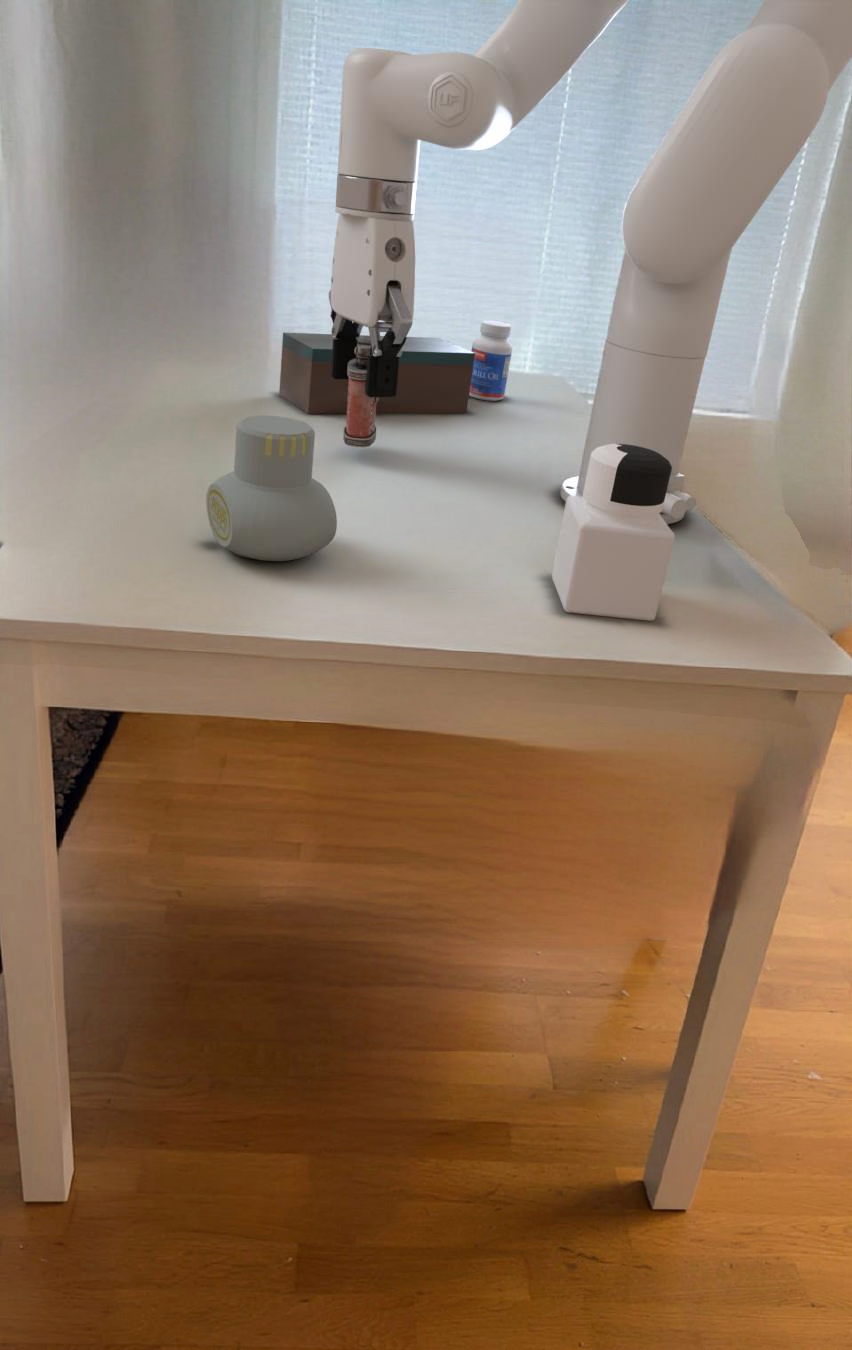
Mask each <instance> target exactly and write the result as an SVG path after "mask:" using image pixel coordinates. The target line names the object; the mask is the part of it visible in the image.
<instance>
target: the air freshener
mask: <svg viewBox="0 0 852 1350" xmlns="http://www.w3.org/2000/svg"><path fill="white" fill-rule="evenodd" d="M235 431H236V432H235V448H234V449H235V450H234V467H233V471H230V472H227V473H226V474H224V475H222V476H219V478H217V479H216V480H215V481H213V482H212V483H211V484H210V485H208V488H207V492H206V513H207V520H208V523H209V527H210V529H211V533H212V534H213V536H214V538H215V540H216V541H217V543H218V544H219V545H220V546H222V548H224V549H226V550H228V551H230V552H232V553H233V554H235V555H237V556H239V557H242V558H247V559H252V560H256V561H263V562H289V561H297V560H299V559H303V558H306V557H309V556H311V555H313V554H316V553H317V552H320V551H321V550H323V549H324V548H326V547H327V546H329V544H330V543H331V542H332V541H333V540H334V539H335V536H336V533H337V527H338V519H337V512H336V508H335V503H334V501H333V498H332V497H331V494H330V492H329V491H328V490H327V489H326V487H325V485H323V484H321V482H319V481H318V480H316V479H315V478H313V467H314V466H313V465H314V452H315V436H316V431H315V430H314V428H313V427H312V426H311V425H310V424H308V423H307V422H305V421H302V420H299V419H295V418H291V417H286V416H279V415H251V416H247V417H243V418H241V420H240V421H239V422H237V424H236V430H235Z"/></svg>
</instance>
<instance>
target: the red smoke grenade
mask: <svg viewBox="0 0 852 1350" xmlns="http://www.w3.org/2000/svg"><path fill="white" fill-rule="evenodd" d="M355 355H356V358H354V359H352V360H350V361H349V362H348V368H347V374H348V376H349V384H348V401H347V414H346V419H345V420H346V422H345V426H344V427H343V439H342V441H343V443H344V445H346V446H349V447H352V448H368V447H371V446H372V445H373V444H374V443H375V442H376V439H377V426H376V416H377V413H376V402H377V401H378V399H379V397H369V396H367V395H366V379H367V365H368V355H373V353H372V347H371V341H370V335H368V336H363V338H362V339H358V340H357V347H356V348H355Z"/></svg>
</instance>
